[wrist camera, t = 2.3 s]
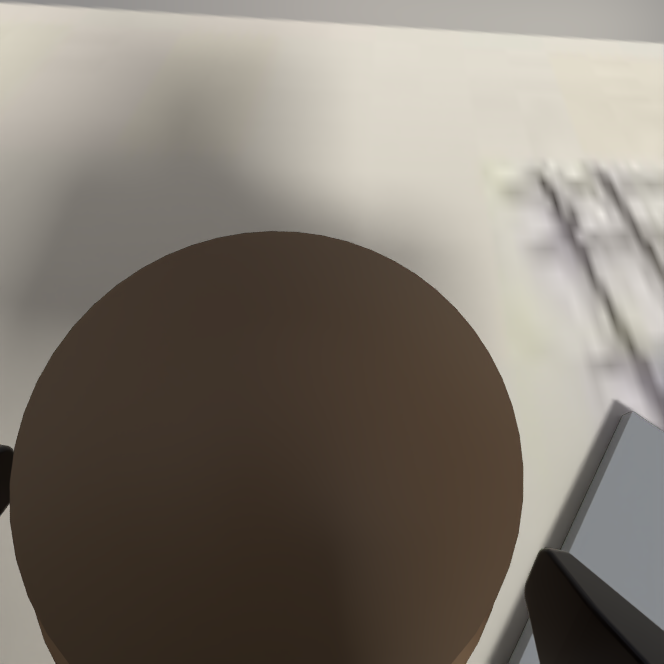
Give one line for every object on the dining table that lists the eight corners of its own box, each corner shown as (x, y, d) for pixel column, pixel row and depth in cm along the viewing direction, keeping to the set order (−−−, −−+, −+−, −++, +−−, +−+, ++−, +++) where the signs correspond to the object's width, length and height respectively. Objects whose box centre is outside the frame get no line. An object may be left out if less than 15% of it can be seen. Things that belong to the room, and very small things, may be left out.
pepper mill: (287, 672, 13) (347, 1393, 2) (160, 546, 14) (-311, 473, 3) (389, 518, 15) (710, 389, 4) (272, 420, 17) (261, 100, 5)
